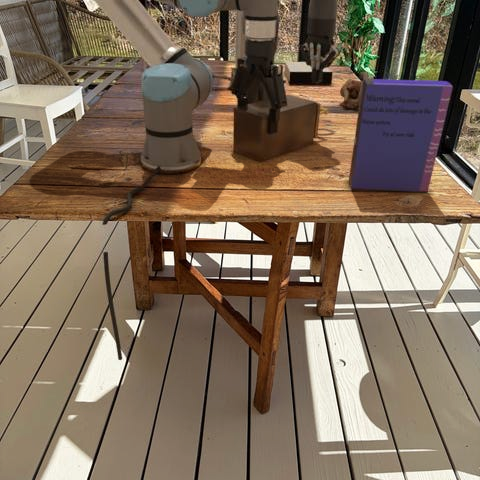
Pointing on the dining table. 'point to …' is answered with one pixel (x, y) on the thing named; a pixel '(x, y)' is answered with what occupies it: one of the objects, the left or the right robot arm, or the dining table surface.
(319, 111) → the drawer
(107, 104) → the dining table surface
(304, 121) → the cabinet
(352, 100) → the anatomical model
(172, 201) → the dining table surface
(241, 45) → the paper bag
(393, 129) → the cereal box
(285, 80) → the figurine
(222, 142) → the dining table surface
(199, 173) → the dining table surface
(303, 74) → the disc drive
